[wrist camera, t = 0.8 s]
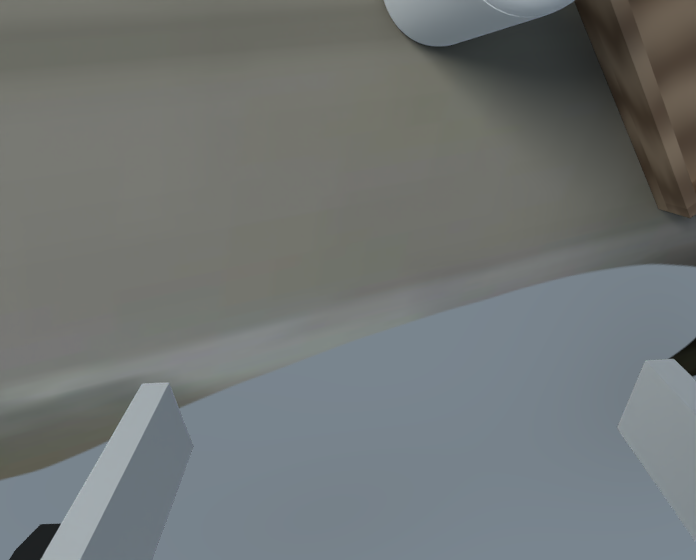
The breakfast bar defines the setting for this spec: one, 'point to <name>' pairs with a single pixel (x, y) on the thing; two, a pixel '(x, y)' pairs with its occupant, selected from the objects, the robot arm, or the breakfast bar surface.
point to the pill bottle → (464, 17)
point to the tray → (652, 87)
